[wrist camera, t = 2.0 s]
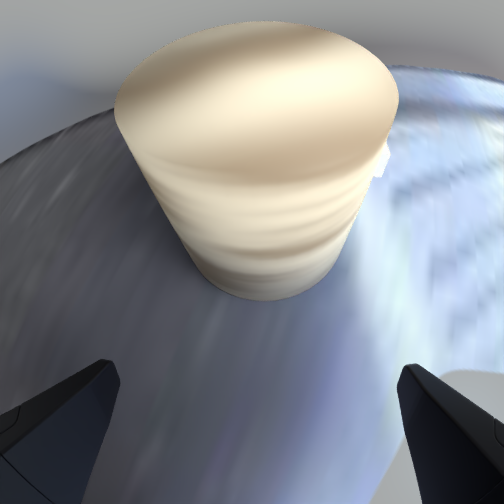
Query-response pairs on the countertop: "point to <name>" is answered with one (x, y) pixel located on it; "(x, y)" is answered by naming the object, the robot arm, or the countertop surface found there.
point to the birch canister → (259, 148)
